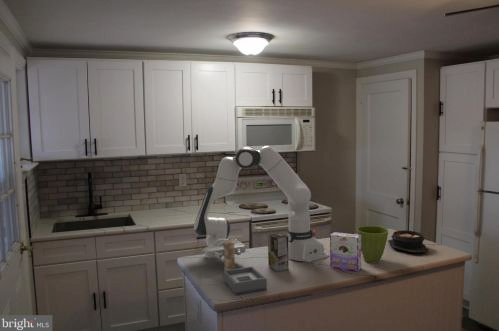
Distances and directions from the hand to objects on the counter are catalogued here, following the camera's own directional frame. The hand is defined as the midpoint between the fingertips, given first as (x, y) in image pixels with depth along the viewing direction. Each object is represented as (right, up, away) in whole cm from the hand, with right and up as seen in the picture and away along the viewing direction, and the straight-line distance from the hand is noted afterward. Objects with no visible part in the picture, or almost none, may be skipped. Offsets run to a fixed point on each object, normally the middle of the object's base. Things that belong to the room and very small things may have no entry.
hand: (229, 254), depth 195 cm
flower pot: (+71, -6, +11) cm, 72 cm away
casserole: (+96, -3, +29) cm, 100 cm away
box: (+7, -10, -17) cm, 21 cm away
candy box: (+56, -7, +2) cm, 56 cm away
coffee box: (+23, -7, +4) cm, 25 cm away
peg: (0, -8, +2) cm, 8 cm away
